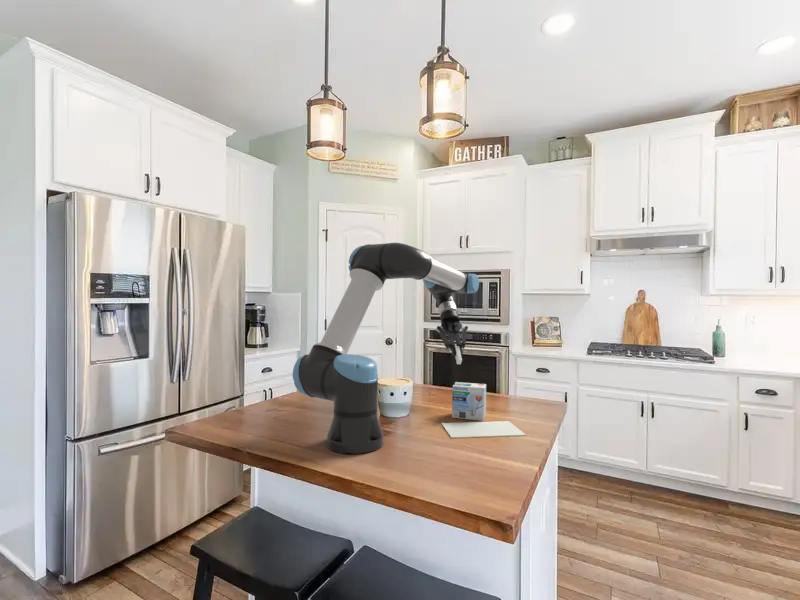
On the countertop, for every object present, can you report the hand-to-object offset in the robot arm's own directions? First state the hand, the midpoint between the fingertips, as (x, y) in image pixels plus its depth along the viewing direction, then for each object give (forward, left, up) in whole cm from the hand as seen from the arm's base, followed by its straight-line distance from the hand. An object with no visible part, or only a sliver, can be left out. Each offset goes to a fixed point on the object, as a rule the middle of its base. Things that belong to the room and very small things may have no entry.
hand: (459, 362), depth 154 cm
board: (-1, -29, -16) cm, 33 cm away
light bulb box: (-1, -16, -16) cm, 22 cm away
